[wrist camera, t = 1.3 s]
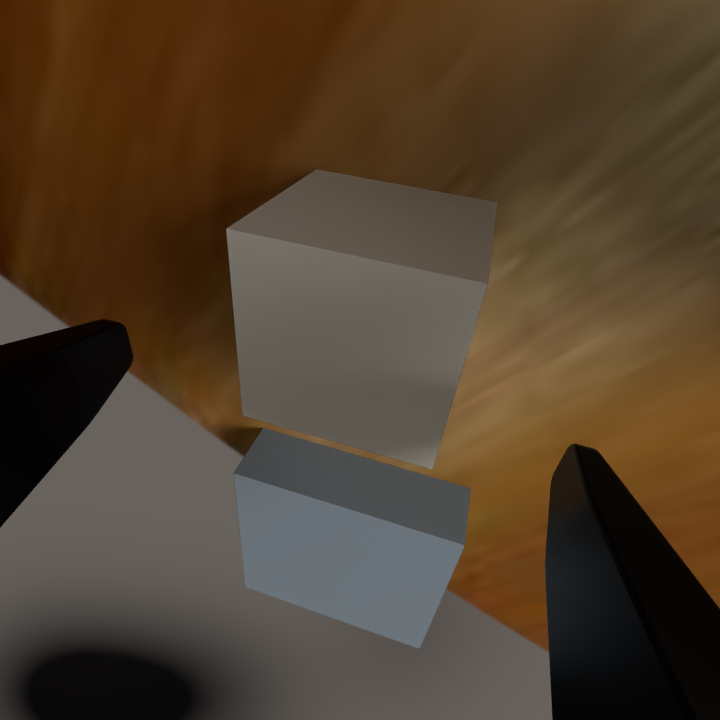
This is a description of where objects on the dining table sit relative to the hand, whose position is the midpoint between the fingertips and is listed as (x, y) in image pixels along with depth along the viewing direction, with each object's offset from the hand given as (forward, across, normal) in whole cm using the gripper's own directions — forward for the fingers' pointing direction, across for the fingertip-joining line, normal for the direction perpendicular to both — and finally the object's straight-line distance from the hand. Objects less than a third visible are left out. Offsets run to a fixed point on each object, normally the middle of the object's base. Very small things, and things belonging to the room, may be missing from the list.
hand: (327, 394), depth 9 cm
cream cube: (+6, 0, 0) cm, 6 cm away
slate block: (+6, 0, +13) cm, 15 cm away
